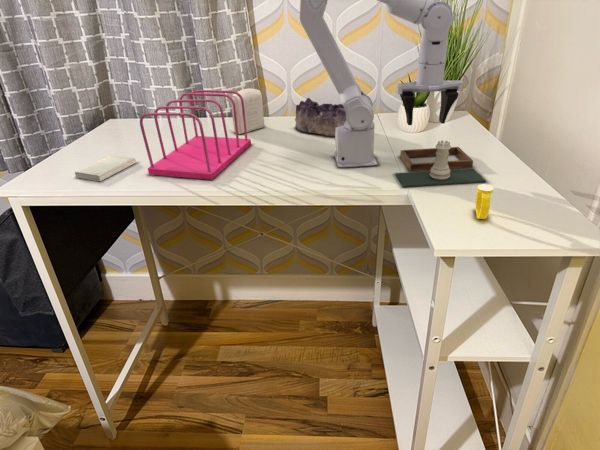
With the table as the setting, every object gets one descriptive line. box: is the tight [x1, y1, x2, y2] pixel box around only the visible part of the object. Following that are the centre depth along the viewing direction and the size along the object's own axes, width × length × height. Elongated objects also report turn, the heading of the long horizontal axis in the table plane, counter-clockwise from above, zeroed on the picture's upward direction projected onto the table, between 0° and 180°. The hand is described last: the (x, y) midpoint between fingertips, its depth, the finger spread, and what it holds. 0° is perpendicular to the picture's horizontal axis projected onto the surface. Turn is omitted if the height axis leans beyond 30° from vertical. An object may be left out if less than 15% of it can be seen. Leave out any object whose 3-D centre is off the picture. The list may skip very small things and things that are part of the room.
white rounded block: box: [230, 88, 265, 135], centre depth 131 cm, size 10×4×12 cm, turn 134°
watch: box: [475, 183, 495, 220], centre depth 80 cm, size 6×3×6 cm, turn 168°
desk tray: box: [399, 146, 474, 172], centre depth 104 cm, size 15×10×2 cm, turn 93°
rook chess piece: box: [429, 140, 452, 180], centre depth 94 cm, size 4×4×8 cm
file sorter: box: [139, 89, 252, 181], centre depth 110 cm, size 17×25×16 cm
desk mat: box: [395, 168, 487, 188], centre depth 96 cm, size 18×7×1 cm, turn 93°
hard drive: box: [74, 154, 137, 182], centre depth 110 cm, size 2×8×12 cm
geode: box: [294, 97, 347, 137], centre depth 127 cm, size 20×12×10 cm, turn 64°
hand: (425, 123), depth 101 cm, fingers open, 7 cm apart
